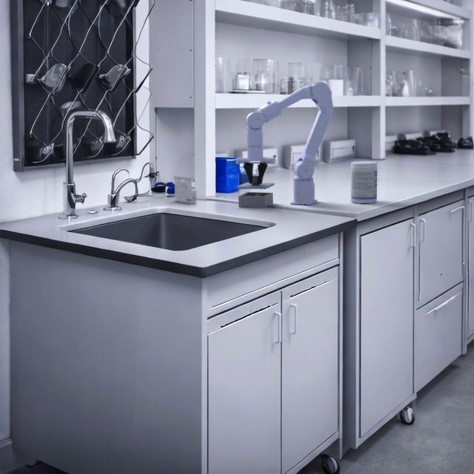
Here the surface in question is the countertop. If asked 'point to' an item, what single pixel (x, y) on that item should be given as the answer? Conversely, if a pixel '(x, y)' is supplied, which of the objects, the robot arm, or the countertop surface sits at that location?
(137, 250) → the countertop surface
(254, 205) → the box
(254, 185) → the lid
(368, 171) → the supplement tub
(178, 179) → the ink cartridge box
